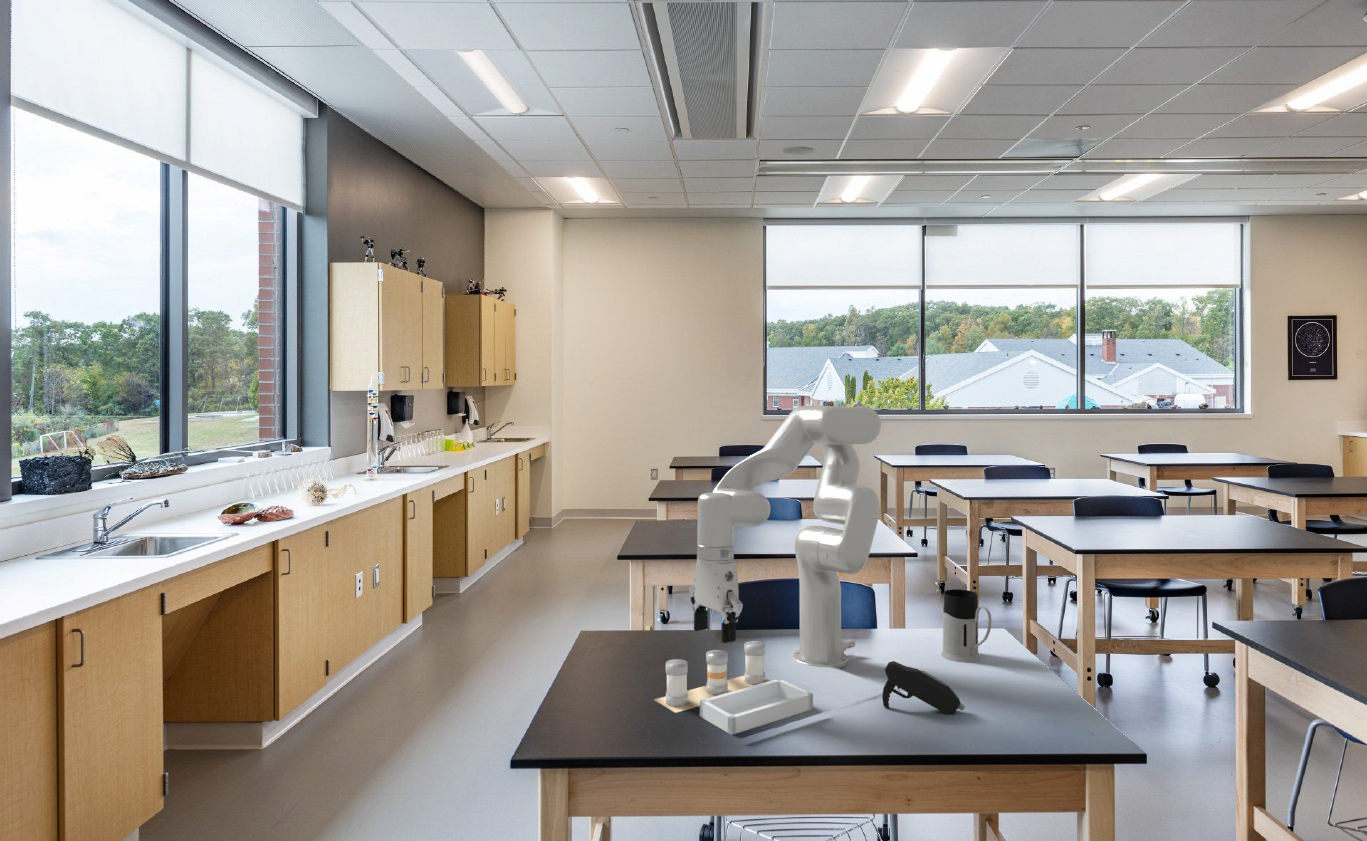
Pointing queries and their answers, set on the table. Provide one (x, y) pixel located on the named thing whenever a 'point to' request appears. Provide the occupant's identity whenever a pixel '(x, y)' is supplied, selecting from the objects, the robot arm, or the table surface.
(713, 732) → the table surface
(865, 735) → the table surface
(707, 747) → the table surface
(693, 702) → the board
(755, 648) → the cylinder
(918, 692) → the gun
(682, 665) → the fuse
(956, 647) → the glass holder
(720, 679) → the marked fuse
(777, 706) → the tray
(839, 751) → the table surface
